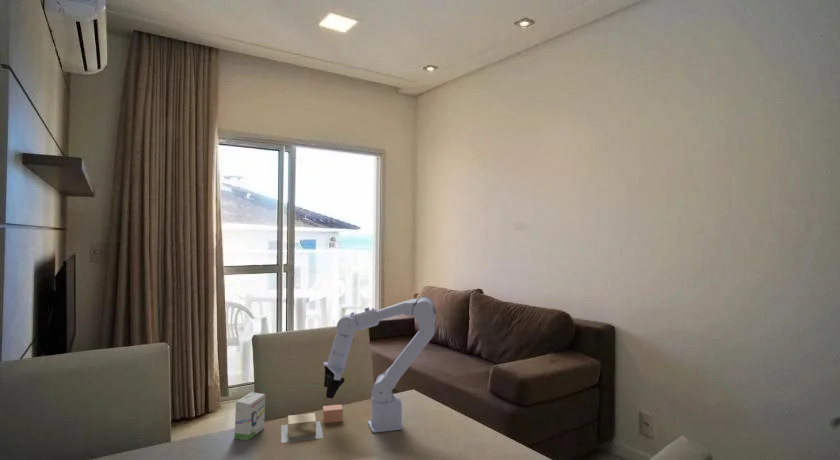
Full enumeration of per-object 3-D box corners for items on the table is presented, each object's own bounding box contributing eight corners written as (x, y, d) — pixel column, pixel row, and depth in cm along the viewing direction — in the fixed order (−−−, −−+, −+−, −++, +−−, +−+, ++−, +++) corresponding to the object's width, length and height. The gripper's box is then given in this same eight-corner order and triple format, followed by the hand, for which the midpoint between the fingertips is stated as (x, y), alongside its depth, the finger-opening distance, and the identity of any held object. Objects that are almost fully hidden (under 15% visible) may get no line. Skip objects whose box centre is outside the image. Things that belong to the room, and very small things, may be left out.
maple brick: (314, 425, 140) (314, 412, 140) (315, 434, 134) (316, 420, 134) (287, 428, 138) (288, 415, 138) (288, 437, 132) (288, 423, 132)
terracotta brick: (341, 419, 148) (341, 404, 148) (342, 424, 144) (342, 409, 144) (322, 421, 146) (322, 406, 146) (323, 426, 142) (324, 411, 142)
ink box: (250, 429, 139) (250, 391, 139) (265, 431, 138) (265, 392, 138) (233, 442, 131) (234, 401, 131) (249, 444, 130) (250, 403, 130)
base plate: (319, 424, 144) (320, 420, 144) (323, 441, 132) (323, 437, 132) (280, 428, 140) (281, 425, 140) (281, 446, 128) (281, 443, 128)
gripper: (325, 341, 149) (314, 380, 149) (329, 358, 135) (317, 400, 135) (345, 345, 151) (335, 383, 151) (352, 362, 137) (340, 404, 138)
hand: (328, 392), depth 144 cm, fingers open, 7 cm apart
